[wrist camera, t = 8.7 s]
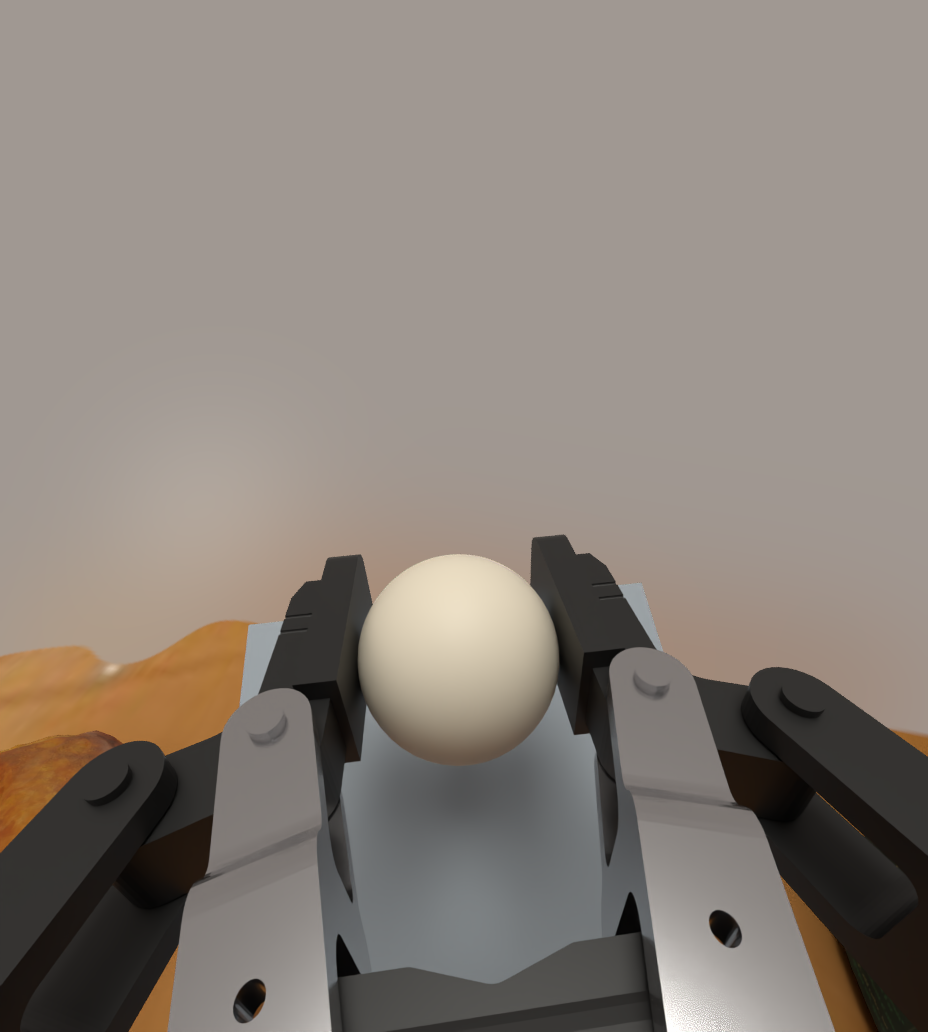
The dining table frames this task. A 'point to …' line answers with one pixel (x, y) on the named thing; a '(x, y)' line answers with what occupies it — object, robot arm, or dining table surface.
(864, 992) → the coffee jar
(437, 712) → the lid
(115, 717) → the dining table surface
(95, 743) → the croissant
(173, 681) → the dining table surface
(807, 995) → the robot arm
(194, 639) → the dining table surface
